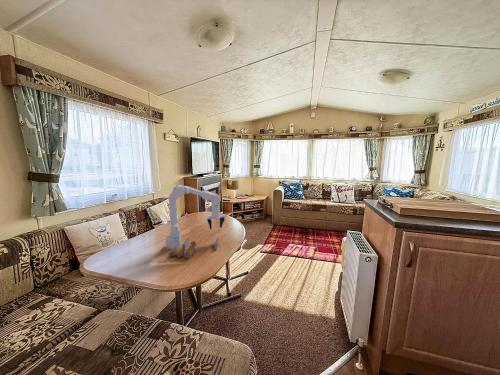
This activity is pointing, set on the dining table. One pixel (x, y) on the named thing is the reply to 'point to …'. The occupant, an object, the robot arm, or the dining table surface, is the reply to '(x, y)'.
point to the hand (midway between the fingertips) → (215, 228)
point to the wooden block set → (181, 251)
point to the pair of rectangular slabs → (188, 244)
